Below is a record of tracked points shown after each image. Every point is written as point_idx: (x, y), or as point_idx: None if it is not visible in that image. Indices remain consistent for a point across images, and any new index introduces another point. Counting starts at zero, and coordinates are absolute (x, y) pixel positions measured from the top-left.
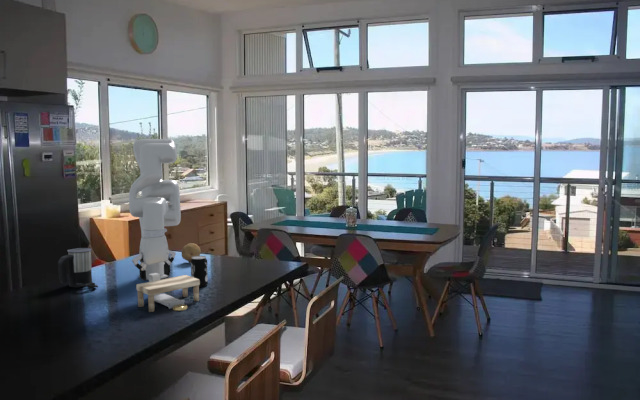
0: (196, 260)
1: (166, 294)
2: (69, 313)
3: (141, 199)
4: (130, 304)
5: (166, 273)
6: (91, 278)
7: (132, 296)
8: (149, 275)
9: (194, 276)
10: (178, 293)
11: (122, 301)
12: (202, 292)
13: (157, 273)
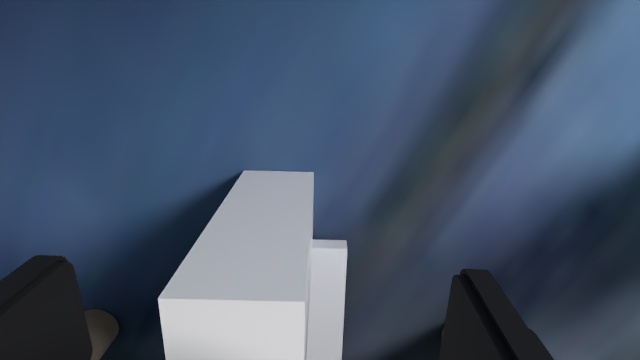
0: None
1: (343, 287)
2: None
3: None
4: (44, 240)
5: (449, 358)
6: None
7: (128, 28)
8: (168, 307)
9: None
10: (477, 240)
11: (5, 117)
12: (610, 340)
13: (298, 353)
